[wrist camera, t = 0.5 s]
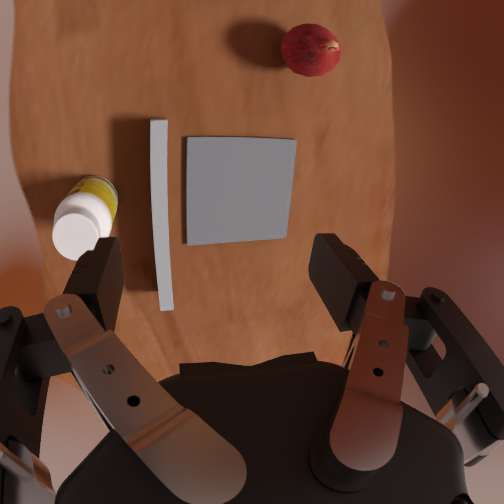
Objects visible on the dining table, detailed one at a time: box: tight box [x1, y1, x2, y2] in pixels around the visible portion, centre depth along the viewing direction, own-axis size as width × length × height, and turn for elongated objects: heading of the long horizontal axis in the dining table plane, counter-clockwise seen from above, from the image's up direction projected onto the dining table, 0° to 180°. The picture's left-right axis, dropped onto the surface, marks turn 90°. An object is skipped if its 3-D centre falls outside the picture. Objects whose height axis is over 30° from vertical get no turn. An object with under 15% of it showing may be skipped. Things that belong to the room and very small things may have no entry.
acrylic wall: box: [150, 118, 174, 311], centre depth 30 cm, size 20×2×4 cm, turn 176°
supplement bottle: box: [52, 176, 118, 260], centre depth 25 cm, size 5×5×10 cm
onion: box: [281, 24, 341, 77], centre depth 25 cm, size 6×6×8 cm
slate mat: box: [186, 137, 297, 246], centre depth 34 cm, size 12×12×1 cm
